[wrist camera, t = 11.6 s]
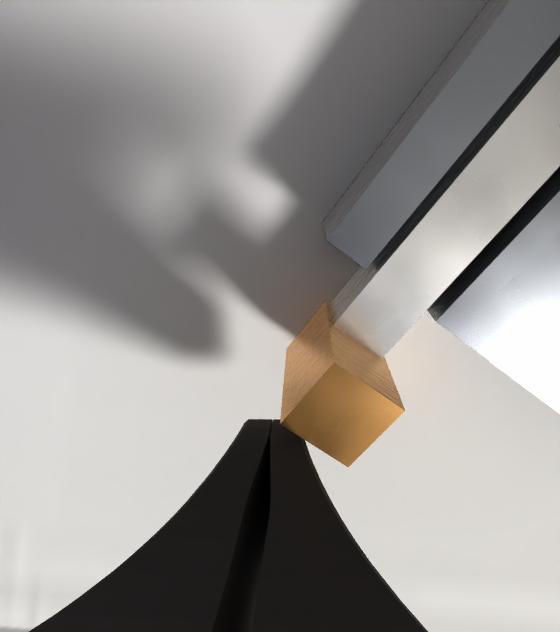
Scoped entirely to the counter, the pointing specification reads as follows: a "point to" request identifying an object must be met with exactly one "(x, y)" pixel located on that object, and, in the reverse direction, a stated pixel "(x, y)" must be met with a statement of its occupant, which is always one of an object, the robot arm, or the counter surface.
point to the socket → (430, 166)
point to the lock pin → (417, 272)
